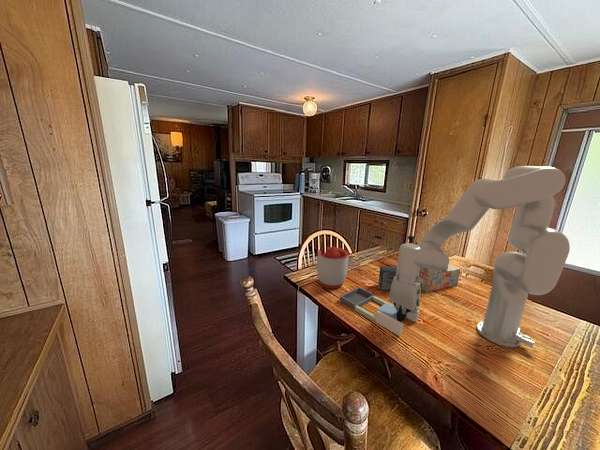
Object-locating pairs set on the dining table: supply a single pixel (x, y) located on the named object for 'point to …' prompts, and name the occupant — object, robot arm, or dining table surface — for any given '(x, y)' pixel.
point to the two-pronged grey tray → (363, 296)
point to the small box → (386, 277)
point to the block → (388, 310)
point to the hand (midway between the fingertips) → (400, 320)
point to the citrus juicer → (332, 267)
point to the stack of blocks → (438, 278)
